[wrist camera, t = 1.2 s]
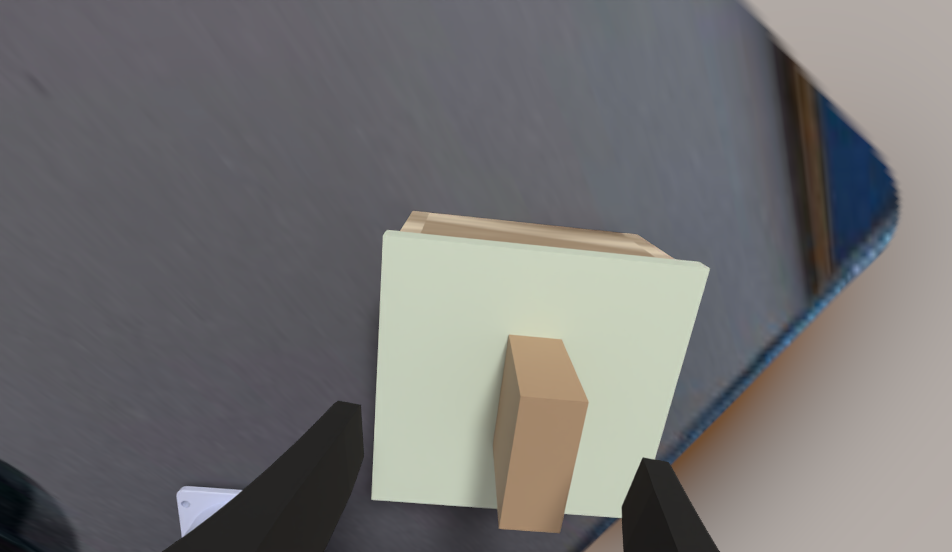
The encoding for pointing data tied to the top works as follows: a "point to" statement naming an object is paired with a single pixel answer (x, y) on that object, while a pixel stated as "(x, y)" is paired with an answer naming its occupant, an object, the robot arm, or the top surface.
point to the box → (530, 234)
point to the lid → (524, 374)
